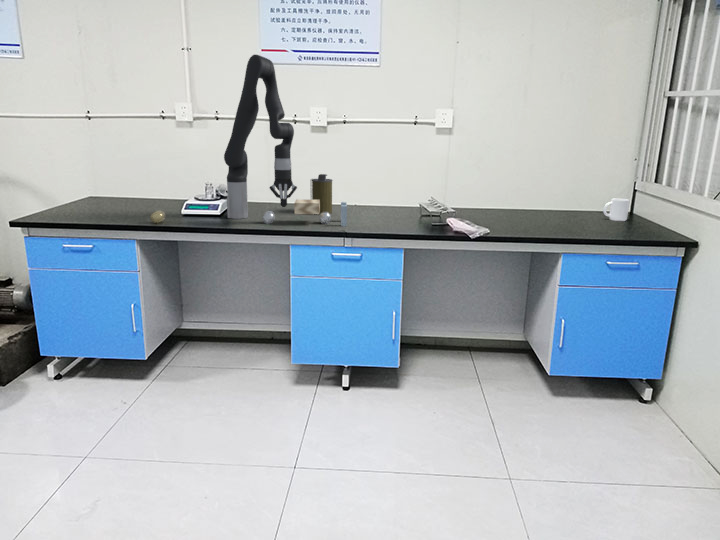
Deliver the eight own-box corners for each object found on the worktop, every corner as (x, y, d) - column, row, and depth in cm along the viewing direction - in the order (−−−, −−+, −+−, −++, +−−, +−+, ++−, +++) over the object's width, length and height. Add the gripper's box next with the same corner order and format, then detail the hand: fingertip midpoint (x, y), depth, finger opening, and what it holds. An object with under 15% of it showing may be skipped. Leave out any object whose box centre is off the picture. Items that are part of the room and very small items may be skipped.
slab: (294, 214, 250) (294, 203, 249) (296, 210, 262) (296, 199, 261) (319, 214, 251) (319, 203, 250) (319, 210, 262) (319, 199, 261)
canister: (333, 212, 288) (333, 173, 282) (330, 216, 278) (330, 175, 272) (313, 212, 289) (312, 173, 283) (309, 215, 279) (308, 175, 273)
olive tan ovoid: (158, 210, 250) (163, 220, 251) (162, 208, 256) (167, 218, 257) (148, 215, 250) (153, 224, 252) (152, 213, 256) (157, 222, 257)
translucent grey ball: (272, 225, 254) (261, 223, 254) (274, 222, 260) (263, 220, 259) (274, 214, 253) (263, 212, 252) (275, 212, 259) (264, 210, 258)
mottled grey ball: (317, 219, 254) (324, 211, 254) (317, 216, 260) (324, 209, 259) (325, 226, 255) (332, 218, 255) (325, 224, 261) (332, 216, 261)
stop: (341, 225, 252) (341, 206, 249) (340, 220, 265) (341, 201, 263) (346, 226, 252) (347, 206, 249) (346, 220, 265) (346, 201, 263)
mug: (605, 220, 277) (607, 200, 274) (598, 218, 285) (601, 198, 282) (629, 221, 277) (632, 200, 274) (622, 218, 285) (625, 198, 282)
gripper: (298, 168, 255) (298, 205, 259) (269, 167, 254) (270, 205, 259) (297, 169, 248) (297, 208, 252) (267, 169, 247) (268, 208, 251)
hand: (283, 206), depth 255 cm, fingers closed
